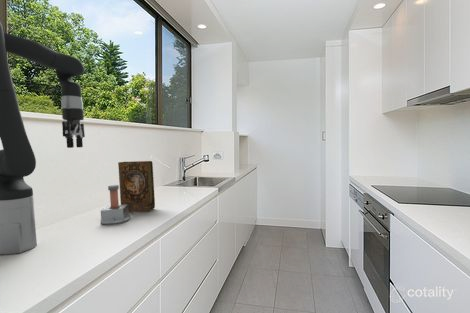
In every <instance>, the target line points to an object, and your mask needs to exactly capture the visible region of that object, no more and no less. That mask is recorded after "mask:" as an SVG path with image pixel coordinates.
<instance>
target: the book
mask: <svg viewBox="0 0 470 313" xmlns="http://www.w3.org/2000/svg"><path fill="white" fill-rule="evenodd" d="M117 163H118V164H117V165H118V179H119V181H118V182H119V196H120V198H119V199H120V205H124V204H128V210H129V213H138V212H139V213H143V212H144V213H145V212H147V213H148V212H150V211H151V210H154V209H155V207H156V202H155V201H156V200H155V184H154V168H153V166H154V164H153V161H151V160H144V161H143V160H141V161H140V160H138V161H135V160H134V161H119V162H117Z"/></svg>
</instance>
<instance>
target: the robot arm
mask: <svg viewBox="0 0 470 313" xmlns="http://www.w3.org/2000/svg"><path fill="white" fill-rule="evenodd" d="M7 53H9V54H12V55H15V56H18V57H20V58H23V59H26V60H29V61H31V62H32V63H35V64H38V65H41V67H45V68H47V69H51V70H55V74H56V77H57V80H58V82H59V85H60V87H61V88H60V90H61V91H60V92H61V93H60V94H61V104H60V105H61V116H62V117H61V118H62V120H64V121H62V120H61V123H62V124H61V125H62V127H61V128H62V137H64V138H65V139H66V148H68V149H71V148H74V147H75V144H76V148H83V147H84V145H83V139H84V138H85V135H86V133H85V125H84V123H81V122H80V121H84V119H85V117H84V114H85V113H84V104H83V98H82V87H81V85H80V83H78V82H74V80H73V77H80V76H82V75H83V74H84V72H85V66H84V64H83V62H82V61H81V60H80V59H78V58H76V57H75V56H71V55H70V54H65V53H63V52H60V51H59V52H58V51H56V50H53V49H52V48H50V47H49V46H46V45H44V44H42V43H41V42H37V41H34V40H31V39H27V38H24V37H20V36H17V35H14V34H11V33H7V32H5V31H4V28H3V24H2V21H1V20H0V141H1V145H2V149H0V254H4V255H14V254H21V253H23V252H26V251H29V250H31V249H33V248H35V247H37V246H38V243H37V231H36V230H37V229H36V219H35V218H36V217H35V207H34V206H35V205H34V203H35V201H34V191H33V188H32V186H31V185H29V184H28V183H27V182H25V180H24V178H25V177H28V176H30V175H31V174H33V173H34V171H35V169H36V167H37V166H36V165H37V159H36V156H35V153H34V150H33V147H32V145H31V143H30V139H29V138H28V135H27V132H26V131H27V130H26V128H25V125H24V120H23V118H22V114H21V110H20V105H19V100H18V97H17V93H16V90H15V85H14V82H13V78H12V74H11V70H10V69H11V68H10V66H9V60H8V56H7ZM74 136H75V144H74Z"/></svg>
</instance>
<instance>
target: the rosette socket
mask: <svg viewBox="0 0 470 313" xmlns="http://www.w3.org/2000/svg"><path fill="white" fill-rule="evenodd" d="M130 220H131V215H130V212H129V210H128V204H124V205H121V204H119V208H113V209H111V204H108V205H106V206H105V207H103V208H102V209H101V210H100V224H101V225H107V226H109V225H110V226H111V225H119V224H123V223H126V222H128V221H130Z"/></svg>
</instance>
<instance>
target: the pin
mask: <svg viewBox="0 0 470 313" xmlns="http://www.w3.org/2000/svg"><path fill="white" fill-rule="evenodd" d="M107 189H108V191H109V198H110V205H111V209H113V208H119V205H120V203H119V190H120V184H119V185H118V184H113V185H109V186H107Z"/></svg>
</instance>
